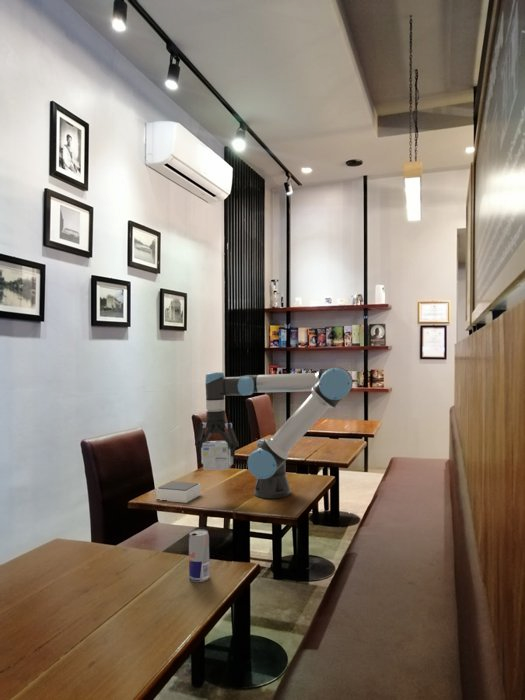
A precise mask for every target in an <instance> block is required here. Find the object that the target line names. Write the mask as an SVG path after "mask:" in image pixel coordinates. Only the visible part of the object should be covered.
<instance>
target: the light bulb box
mask: <svg viewBox="0 0 525 700" xmlns="http://www.w3.org/2000/svg"><path fill="white" fill-rule="evenodd" d="M202 448H203V464H202V466H203V467H202V470H203V471H209V470H210V471H212V470H213V471H214V470H215V471H216V470H217V471H221V470H222V471H224V470H227V471H228V470H230V468H231V467H232V465H229V459H228V449H229V448H230V447H229V446H228V443H227V442H226V441H225V440H210V441H209V440H207V441H206V442H204V443H203V444H202Z"/></svg>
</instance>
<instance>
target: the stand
mask: <svg viewBox="0 0 525 700" xmlns="http://www.w3.org/2000/svg"><path fill="white" fill-rule="evenodd" d="M155 492H156V499H160V500H159V501H162V500H167V501H166V502H175V503H189V502H190V501H192V500H194V499H196V498H198V497H200V496H201V484H200V483H199V482H188V481H186V482H185V481H173V480H172V481H170V482H167V483H165V484H163V485H160V486H159V487H157V488H156V491H155Z"/></svg>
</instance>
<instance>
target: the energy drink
mask: <svg viewBox="0 0 525 700" xmlns="http://www.w3.org/2000/svg"><path fill="white" fill-rule="evenodd" d="M210 569H211V568H210V535H209V531H208V530H206V529H199V528H198V529H194V530H192V531H190V532H189V533H188V571H189V572H188V573H189V574H188V577H189V580H190V581H191V582H193V583H204V582H207V581H208V580H209V579H210V578H211V575H210V574H211V573H210V572H211V571H210Z"/></svg>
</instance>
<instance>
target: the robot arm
mask: <svg viewBox="0 0 525 700" xmlns="http://www.w3.org/2000/svg"><path fill="white" fill-rule="evenodd" d="M353 382H354V381H353V377H352V375H351V372H349V371H348V370H347V369H345V368H343V367H340V366H339V367H331V368H328V369H321V370H320V369H319V370H317V371H316V372H304V373H302V372H301V373H278V374H277V373H276V374H245V375H240V376H225V375H224V372H219V371H217V372H207V373H206V374H205V404H206V405H205V408H206V410H207V411H206V422H200V423H199V430H198V433H197V436H196V439H195V442H194V446H196V447H198V448H199V449H198V451H199V455H200V456H201V459H200V460H201V464H202V465H203V448H202V444H203V443H204V442H206V441H209V438H210V437H211V435H212V434H219V435H220V436H222V438H223V439H224V441H226V442H227V443H228V446H229V447H230V448H229V449H228V459H229V465H231V466H232V465H234V457H235V454H236V452H235V451H236V448H237V447H239V446H240V443H239V441H238V439H237V436H236V433H235V430H234V428H233V427H234V426H233V425H234V424H233V422H229V423H227V422H226V411H225V408H226V405H225V404H226V403H225V402H226V401H225V400H226V399H225V397H226V396H243V397H245V396H251V395H253V394H256V393H293V392H311V393H310V395H309V396H308V397H307V398H306V399H305V400H304V401H303V402H302V404H301V405H300V406H299V407H298V408H297V409H296V410H295V411H294V412H293V413H292V414H291V416H290V417H289V418H287V420H286V421H285V422H284V424H283V425H282V426H281V427H280V428H279V429H278V430H277V431H276V432H275V433H274V434H273V435H272V437H266V438H265V439H258V441H257V445H256V446H257V447H256V448H255V450H253V451H251V453H250V454H249V455H248V458H247V468H248V471H249V473H250V474H251V475H252V476H253V477H255V478H256V483H255V486H254V495H255V497H258V498H262V499H271V500H272V499H281V498H286V497H288V496H290V495H291V487H290V483H289V482H288V479H287V475H286V474H287V473H286V461H287V460H288V458H289V452H290V451H291V450H292V449H293V448H294V446H295V445H296V444H297V443H298V442H299V441H300V440H301V439H302V437H304V436H305V435H306V434H307V432H308V431H309V430H310V429H311V428H312V426H314V425H315V423H316V422H318V420H319V419H320V418H321V417H322V416H323V415H324V414H325V412H327V410H328V409H334V408H336V406H338V404H339V403H340V402H341V401H343V399H344V398H345V397H346V396H348V395H349V393H350V391H351V390H352V387H353ZM206 428H207V431H206ZM225 428H226V429H225ZM205 431H206V433H205ZM227 431H228V432H227ZM289 494H290V495H289Z"/></svg>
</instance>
